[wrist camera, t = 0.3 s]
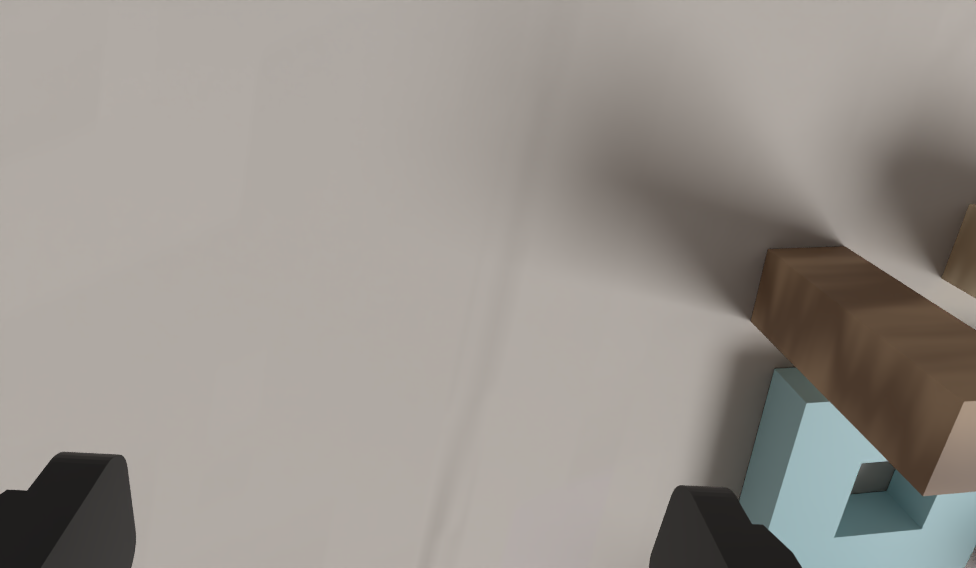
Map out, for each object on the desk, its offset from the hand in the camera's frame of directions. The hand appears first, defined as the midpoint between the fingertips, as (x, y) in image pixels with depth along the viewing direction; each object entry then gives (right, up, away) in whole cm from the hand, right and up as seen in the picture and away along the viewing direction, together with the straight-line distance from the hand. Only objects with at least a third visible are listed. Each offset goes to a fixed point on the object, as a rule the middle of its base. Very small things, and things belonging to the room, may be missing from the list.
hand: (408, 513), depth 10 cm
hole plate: (+23, -7, +29) cm, 38 cm away
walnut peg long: (+17, +3, +23) cm, 28 cm away
